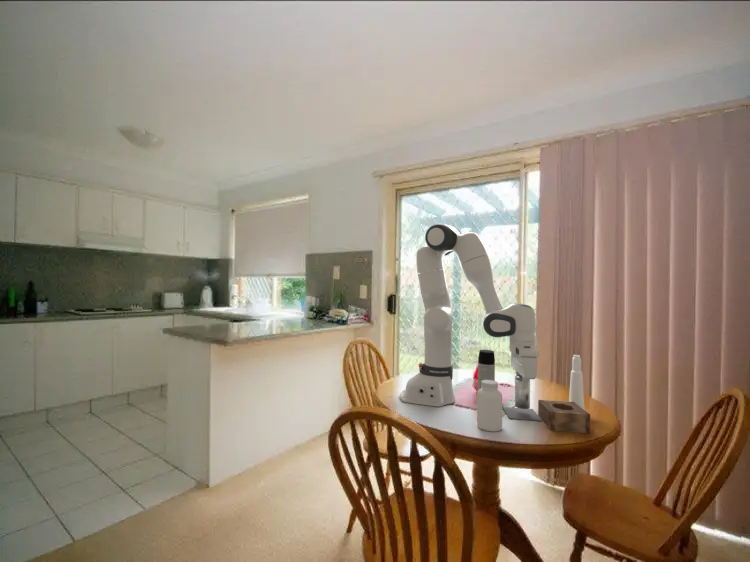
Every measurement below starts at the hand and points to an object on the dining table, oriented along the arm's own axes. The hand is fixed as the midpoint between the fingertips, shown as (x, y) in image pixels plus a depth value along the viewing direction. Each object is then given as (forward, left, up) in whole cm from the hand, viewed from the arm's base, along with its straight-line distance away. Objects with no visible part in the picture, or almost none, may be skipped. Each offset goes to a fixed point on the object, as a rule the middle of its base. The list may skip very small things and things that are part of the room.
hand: (522, 385), depth 124 cm
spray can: (-10, +15, -11) cm, 21 cm away
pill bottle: (-14, -14, -11) cm, 23 cm away
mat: (0, 0, -11) cm, 11 cm away
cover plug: (0, 0, -8) cm, 8 cm away
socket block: (+11, -7, -11) cm, 17 cm away
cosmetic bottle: (+20, +3, -11) cm, 23 cm away
